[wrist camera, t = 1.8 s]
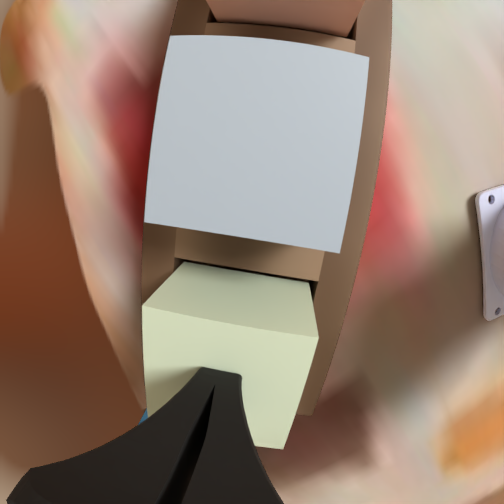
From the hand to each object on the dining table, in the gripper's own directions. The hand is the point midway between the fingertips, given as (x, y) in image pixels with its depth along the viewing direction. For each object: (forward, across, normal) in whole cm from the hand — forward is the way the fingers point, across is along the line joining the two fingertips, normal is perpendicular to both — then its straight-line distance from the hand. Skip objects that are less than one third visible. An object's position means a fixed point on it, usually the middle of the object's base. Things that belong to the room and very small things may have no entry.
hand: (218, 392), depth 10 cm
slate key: (+5, 0, -8) cm, 9 cm away
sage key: (+5, 0, 0) cm, 5 cm away
